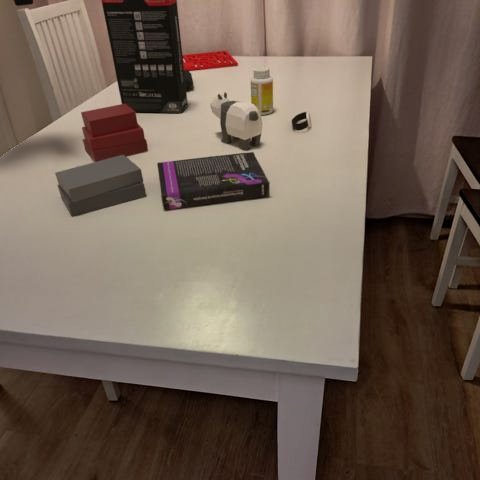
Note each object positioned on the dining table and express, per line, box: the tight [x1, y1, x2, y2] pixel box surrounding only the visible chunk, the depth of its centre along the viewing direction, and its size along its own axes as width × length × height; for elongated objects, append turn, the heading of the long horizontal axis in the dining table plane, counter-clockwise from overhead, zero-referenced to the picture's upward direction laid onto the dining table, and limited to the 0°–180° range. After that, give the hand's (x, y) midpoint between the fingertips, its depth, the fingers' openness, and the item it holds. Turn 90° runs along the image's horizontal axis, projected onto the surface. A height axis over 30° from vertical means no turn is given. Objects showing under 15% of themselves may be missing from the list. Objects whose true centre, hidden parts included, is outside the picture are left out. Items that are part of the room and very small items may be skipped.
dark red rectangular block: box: [80, 103, 139, 137], centre depth 101 cm, size 10×7×3 cm
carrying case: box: [184, 70, 194, 92], centre depth 141 cm, size 11×3×15 cm
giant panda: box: [209, 91, 263, 151], centre depth 103 cm, size 15×6×10 cm, turn 42°
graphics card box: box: [101, 0, 189, 114], centre depth 117 cm, size 17×7×27 cm, turn 80°
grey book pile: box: [54, 155, 147, 217], centre depth 86 cm, size 14×10×5 cm
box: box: [156, 151, 271, 211], centre depth 88 cm, size 14×4×20 cm
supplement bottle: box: [250, 66, 274, 116], centre depth 117 cm, size 6×6×10 cm
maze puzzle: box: [182, 50, 239, 71], centre depth 164 cm, size 20×20×1 cm
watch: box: [291, 110, 312, 131], centre depth 110 cm, size 8×5×4 cm, turn 168°
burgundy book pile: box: [81, 123, 149, 163], centre depth 103 cm, size 12×9×5 cm
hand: (20, 2), depth 88 cm, fingers open, 9 cm apart
